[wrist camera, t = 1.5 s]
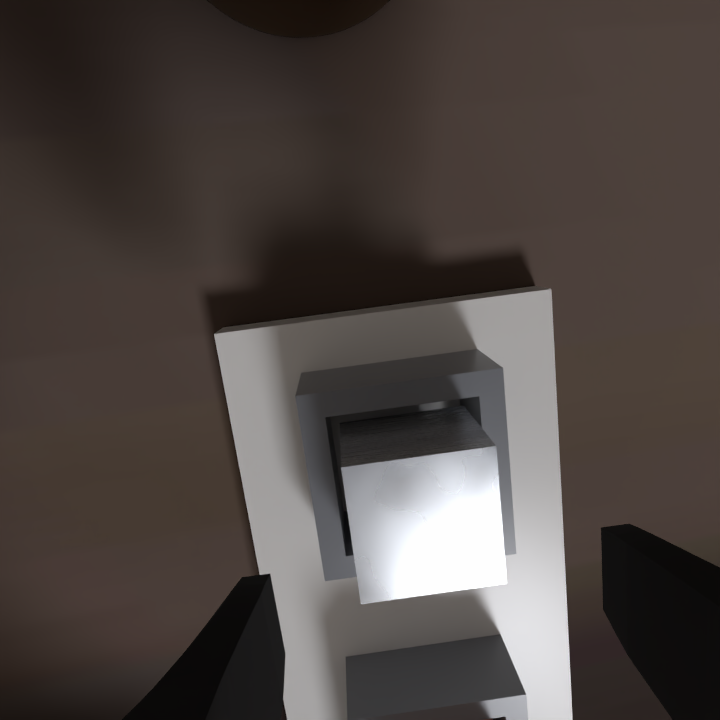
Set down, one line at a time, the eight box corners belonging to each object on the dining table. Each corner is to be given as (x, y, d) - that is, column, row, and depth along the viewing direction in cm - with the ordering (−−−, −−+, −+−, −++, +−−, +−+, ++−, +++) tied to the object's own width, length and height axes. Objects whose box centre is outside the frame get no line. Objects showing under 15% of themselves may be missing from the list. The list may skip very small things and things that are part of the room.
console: (561, 751, 25) (609, 859, 21) (308, 790, 25) (303, 907, 21) (535, 285, 20) (591, 296, 16) (222, 327, 20) (191, 350, 16)
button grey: (473, 518, 18) (506, 583, 14) (355, 535, 18) (360, 604, 14) (463, 405, 17) (496, 446, 14) (339, 422, 17) (341, 467, 14)
